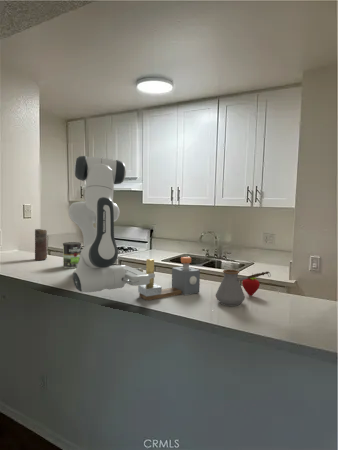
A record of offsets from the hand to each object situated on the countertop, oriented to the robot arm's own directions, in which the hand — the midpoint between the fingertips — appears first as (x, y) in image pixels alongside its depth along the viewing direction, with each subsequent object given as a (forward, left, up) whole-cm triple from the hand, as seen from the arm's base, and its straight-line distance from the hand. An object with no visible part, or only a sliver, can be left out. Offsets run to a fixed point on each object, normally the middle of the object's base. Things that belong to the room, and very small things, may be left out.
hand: (147, 272), depth 128 cm
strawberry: (+20, +40, -11) cm, 46 cm away
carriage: (0, +1, -9) cm, 9 cm away
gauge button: (0, +20, -6) cm, 21 cm away
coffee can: (-75, -8, -11) cm, 76 cm away
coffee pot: (+27, +26, -11) cm, 39 cm away
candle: (-106, -20, -11) cm, 108 cm away
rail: (0, +6, -10) cm, 12 cm away
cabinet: (0, +20, -10) cm, 22 cm away
